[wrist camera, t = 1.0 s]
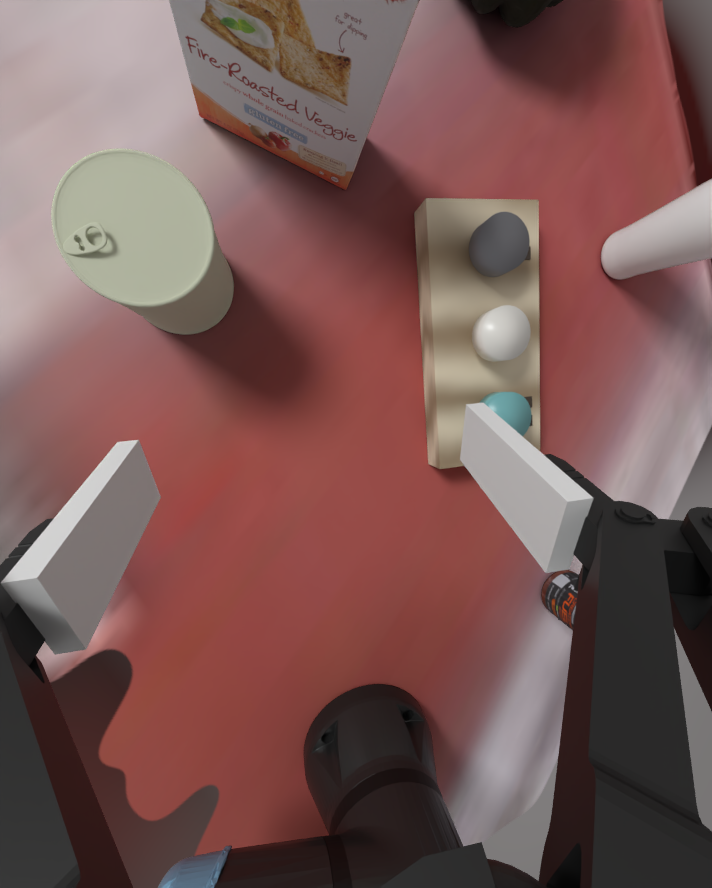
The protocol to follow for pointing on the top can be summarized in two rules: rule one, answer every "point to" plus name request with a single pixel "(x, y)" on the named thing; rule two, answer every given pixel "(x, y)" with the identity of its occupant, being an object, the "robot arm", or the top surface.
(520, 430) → the teal button
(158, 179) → the can
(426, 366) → the button panel
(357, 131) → the cracker box
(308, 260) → the top surface
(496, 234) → the grey button
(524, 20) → the squash
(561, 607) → the supplement bottle
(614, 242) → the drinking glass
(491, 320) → the white button
